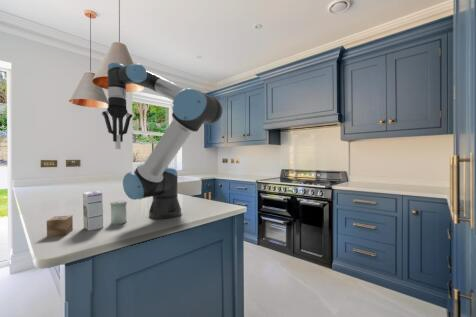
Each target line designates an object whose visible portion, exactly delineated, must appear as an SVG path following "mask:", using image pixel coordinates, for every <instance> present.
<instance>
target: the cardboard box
mask: <svg viewBox="0 0 476 317" xmlns="http://www.w3.org/2000/svg"><path fill="white" fill-rule="evenodd" d="M73 219H74V218H73V215H59V216H53V217H51V218H49V219H47V220H46V238H52V237H53V236H54V237H63V236H65V237H66V236H68V235H69V234H70V233H71V232H73V230H74V226H73V222H74V221H73Z"/></svg>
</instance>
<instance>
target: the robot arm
mask: <svg viewBox="0 0 476 317" xmlns="http://www.w3.org/2000/svg"><path fill="white" fill-rule="evenodd" d="M107 65H108V66H107V73H106V74H107V96H108V99H107V104H108V105H107V109H106V110H105V111H102V112H101V115H102V116H103V118H104V121H105V125H106V129H107V133H108V134H112V141H113V142H114V143H115V145H114V146H115V150H121V149H122V148H121V143H123V141H124V140H123V136H124V135H126V134H127V133H128V130H129V126H130V121H131V119H132V117H133V114H132V113H131V114H130V113H129V112H128V109H127V85H130V84H131V85H132V84H133V85H137V86H140V87H143V88H146V89H149V90H151V91H153V92H156V93H157V94H159V95H162V96H164V97H166V98H167V99H169V100H171V101H172V105H173V106H172V113H171V117H172V120H171V122H170V124H169V125H168V126H167V128H166V130H165V131H164V133H163V134H162V136H161V138H160V139H159V140H158V142H157V144H156V145H155V146H154V147H153V150H152V151H151V153H150V154H149V156H148V157H147V159H146V160H145V161H144V162H142V163H140V164H138V166H136V168H135V170H134V171H129V172H128V173H126V174H124V176H123V180H122V187H123V188H122V189H123V191H124V193H125V195H126V196H127V197H128V198H129V199H131V200H142V199H147V198H150V197H152V201H151V204H150V208H149V211H148V217H149V218H152V219H156V220H157V219H158V220H159V219H161V220H162V219H171V218H175V217H179V216H181V215H182V207H181V205H180V201H179V199H178V171H177V169H176V168H174V167H173V168H171V167H169V165H170V164H171V162H172V161H173V160H174V158H175V157H176V155H177V154H178V153H179V151H180V150H181V149H182V147H183V146H184V144H185V143H186V142H187V139H188V138H189V137H190V135H191V134H192V133H196V132H198V131H199V130H200V128H201V127H202V126H203V125H213V124H216V123H217V122H219V121H220V119H221V118H222V115H223V105H222V103H221V101H220V100H218V98H216V97H214V96H212V95H210V94H207V93H205V92H203V91H201V90H198V89H194V88H185V87H183V86H181V85H178V84H176V83H174V82H173V81H171V80H168V79H166V78H164V77H163V76H161V75H159V74H155V73H152V72H151V71H149V70H147V69H146V67H144V66H143V65H142V64H141V63H131V64H128V65H124V64H122V63H119V62H110V63H108V64H107ZM109 116H110V117H111V118H112V125H111V121H110V117H109ZM124 117H126V118H125V123H124ZM117 121H118V122H117ZM117 124H118V125H117Z"/></svg>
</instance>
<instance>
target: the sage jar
mask: <svg viewBox="0 0 476 317" xmlns="http://www.w3.org/2000/svg"><path fill="white" fill-rule="evenodd" d="M127 204H128V201H126V200H118V201H117V200H115V201H112V202H110V204H109V206H110V218H111V219H110V224H111V225H121V224H125V223H127Z"/></svg>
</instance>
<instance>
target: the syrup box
mask: <svg viewBox="0 0 476 317" xmlns="http://www.w3.org/2000/svg"><path fill="white" fill-rule="evenodd" d="M103 205H104V204H103V192H101V191H99V190H98V191H97V190H95V191H92V190H91V191H86V192H83V193H82V207H83V208H82V209H83V210H82V212H83V217H82V218H83V229H85V230H86V231H93V230H95V231H96V230H99V229H103V228H104V206H103Z"/></svg>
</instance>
